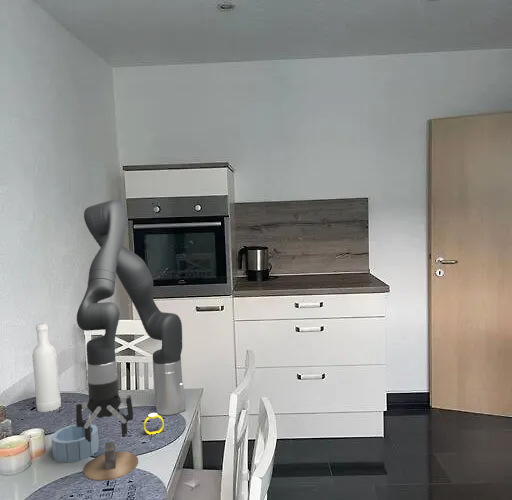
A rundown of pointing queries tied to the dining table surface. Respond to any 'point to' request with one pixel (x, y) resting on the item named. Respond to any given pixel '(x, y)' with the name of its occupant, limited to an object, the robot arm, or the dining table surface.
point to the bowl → (74, 444)
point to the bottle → (45, 372)
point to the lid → (110, 464)
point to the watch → (152, 416)
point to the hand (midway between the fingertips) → (106, 438)
